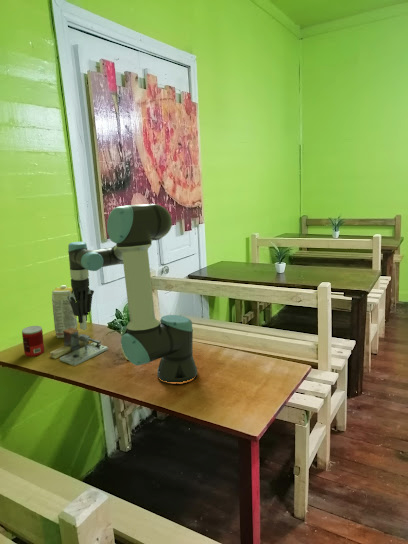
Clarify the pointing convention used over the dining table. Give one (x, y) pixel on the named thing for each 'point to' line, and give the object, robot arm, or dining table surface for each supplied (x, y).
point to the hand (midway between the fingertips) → (83, 328)
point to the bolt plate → (83, 354)
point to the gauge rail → (67, 348)
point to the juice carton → (63, 310)
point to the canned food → (33, 341)
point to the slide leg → (73, 339)
